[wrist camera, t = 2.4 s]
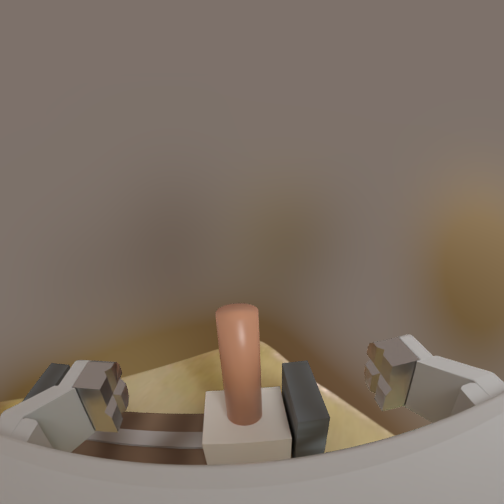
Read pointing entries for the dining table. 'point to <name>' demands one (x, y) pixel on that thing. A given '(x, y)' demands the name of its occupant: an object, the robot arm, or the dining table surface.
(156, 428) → the rail
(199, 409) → the dining table surface
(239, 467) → the robot arm
